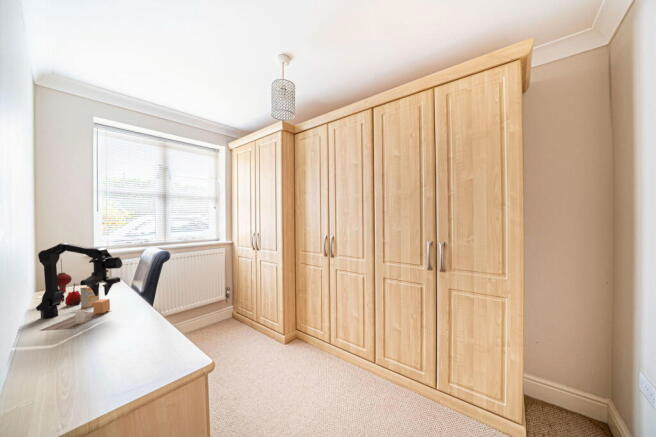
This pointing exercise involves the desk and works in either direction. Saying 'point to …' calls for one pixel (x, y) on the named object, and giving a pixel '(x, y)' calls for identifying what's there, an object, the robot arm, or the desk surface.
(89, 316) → the walnut board
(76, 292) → the red clay folk toy
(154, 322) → the desk surface
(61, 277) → the lantern
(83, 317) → the white post
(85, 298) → the supplement box
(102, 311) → the peach wooden cube
